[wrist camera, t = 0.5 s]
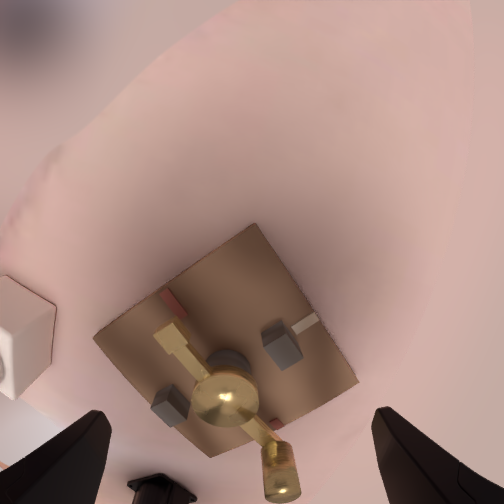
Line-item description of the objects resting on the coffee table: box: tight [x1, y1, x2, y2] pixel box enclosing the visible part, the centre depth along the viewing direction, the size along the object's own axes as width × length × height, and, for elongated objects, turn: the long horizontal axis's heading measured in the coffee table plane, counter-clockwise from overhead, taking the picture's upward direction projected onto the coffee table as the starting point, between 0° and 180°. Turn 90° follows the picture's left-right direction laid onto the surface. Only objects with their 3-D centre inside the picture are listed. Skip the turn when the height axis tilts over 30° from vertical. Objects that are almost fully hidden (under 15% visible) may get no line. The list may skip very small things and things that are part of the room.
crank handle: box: [153, 316, 301, 503], centre depth 17 cm, size 4×14×6 cm, turn 34°
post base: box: [93, 223, 359, 458], centre depth 21 cm, size 16×16×4 cm
